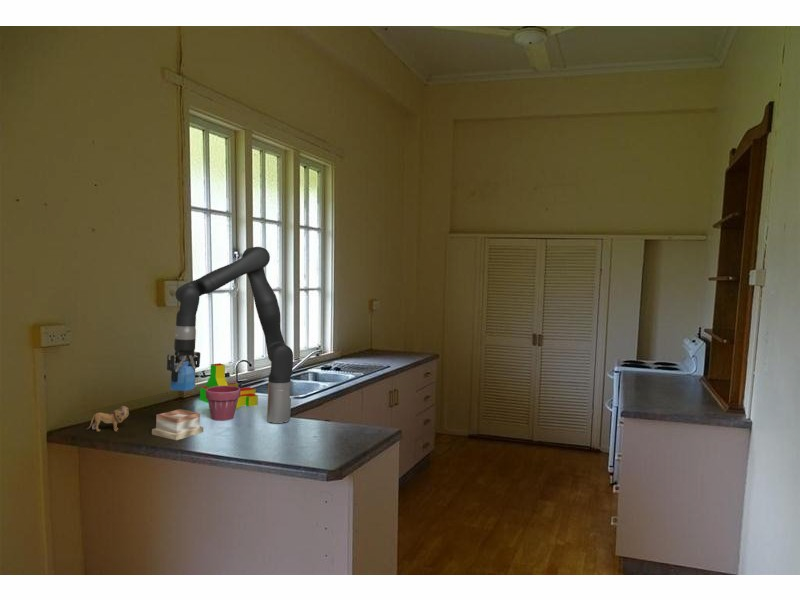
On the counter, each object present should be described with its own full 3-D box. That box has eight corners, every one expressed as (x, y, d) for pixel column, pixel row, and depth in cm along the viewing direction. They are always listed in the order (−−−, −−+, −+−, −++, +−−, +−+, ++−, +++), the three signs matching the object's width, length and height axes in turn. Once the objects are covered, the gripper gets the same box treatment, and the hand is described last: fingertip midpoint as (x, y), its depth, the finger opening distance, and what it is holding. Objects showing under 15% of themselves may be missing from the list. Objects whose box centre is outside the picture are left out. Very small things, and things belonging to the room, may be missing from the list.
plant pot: (197, 419, 230) (198, 389, 230) (220, 412, 243) (221, 383, 243) (224, 424, 225) (225, 393, 224) (246, 416, 238) (247, 387, 237)
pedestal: (179, 426, 218) (180, 408, 218) (203, 432, 212) (203, 413, 212) (151, 434, 207) (152, 414, 206) (176, 440, 201) (176, 420, 200)
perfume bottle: (185, 391, 205) (186, 359, 205) (170, 389, 207) (172, 358, 206) (194, 388, 212) (196, 357, 211) (180, 386, 213) (181, 356, 212)
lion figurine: (129, 427, 215) (129, 404, 214) (127, 431, 210) (128, 407, 209) (86, 429, 210) (87, 406, 209) (84, 433, 205) (84, 409, 204)
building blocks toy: (225, 410, 248) (226, 370, 247) (199, 400, 265) (200, 363, 264) (261, 405, 261) (263, 367, 260) (235, 395, 278) (236, 360, 278)
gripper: (176, 339, 200) (174, 384, 201) (206, 337, 213) (204, 379, 214) (162, 337, 204) (160, 381, 204) (193, 335, 217) (190, 376, 217)
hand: (183, 380), depth 209 cm, fingers closed on perfume bottle, 7 cm apart
